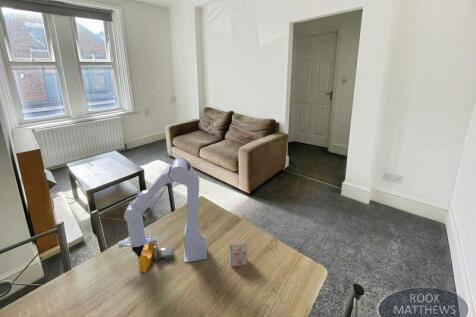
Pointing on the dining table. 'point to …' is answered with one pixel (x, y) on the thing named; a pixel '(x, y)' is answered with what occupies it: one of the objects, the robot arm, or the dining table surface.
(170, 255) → the pipe fixture
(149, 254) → the pipe clamp
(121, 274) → the dining table surface
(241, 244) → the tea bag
